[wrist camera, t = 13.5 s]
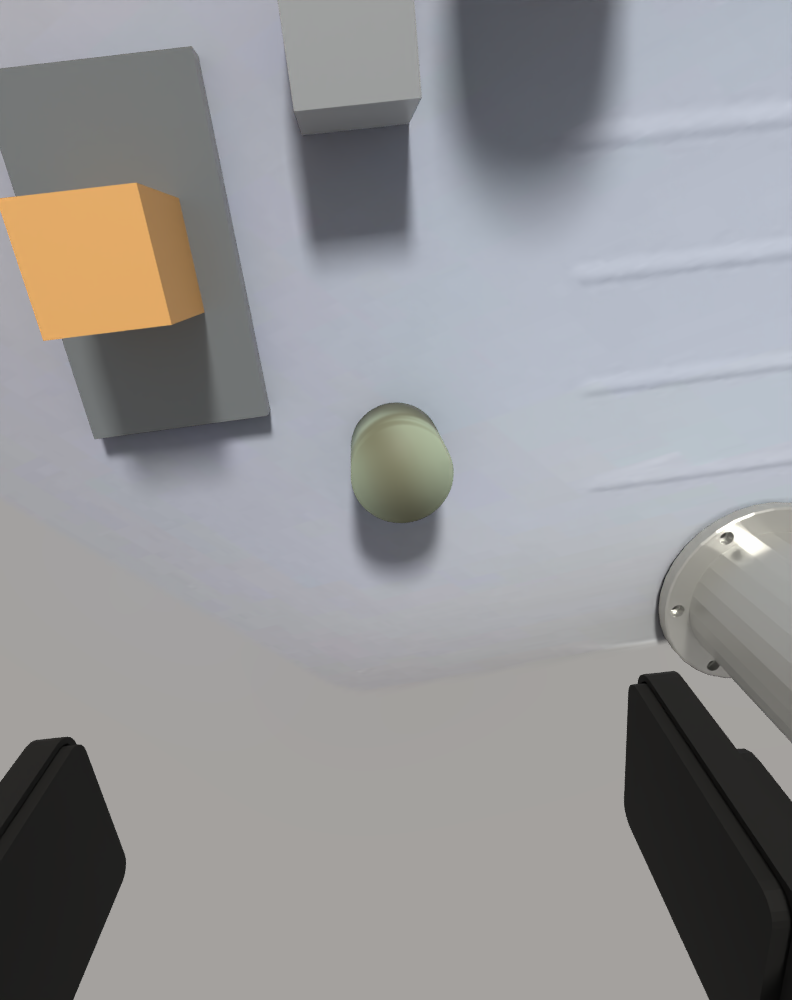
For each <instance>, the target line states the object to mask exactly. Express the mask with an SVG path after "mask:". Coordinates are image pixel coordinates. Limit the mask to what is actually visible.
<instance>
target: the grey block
mask: <svg viewBox="0 0 792 1000" xmlns="http://www.w3.org/2000/svg"><path fill="white" fill-rule="evenodd" d="M278 7H279V13H280V20H281V27H282V34H283V40H284V47H285V54H286V61H287V68H288V74H289V81H290V88H291V95H292V102H293V108H294V113H295V116H296V119H297V122H298V125H299V128H300V131H301V134H302V135H311V134H320V133H330V132H339V131H348V130H357V129H366V128H376V127H385V126H394V125H403V124H409V123H410V120H411V118H412V116H413V114H414V112H415V110H416V108H417V106H418V104H419V102H420V100H421V98H422V97H421V84H420V71H419V58H418V45H417V32H416V19H415V6H414V0H278Z"/></svg>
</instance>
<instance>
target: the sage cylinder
mask: <svg viewBox="0 0 792 1000" xmlns="http://www.w3.org/2000/svg"><path fill="white" fill-rule="evenodd" d="M452 482H453V464H452V460H451V457H450V455H449V453H448V451H447V449H446V447H445V445H444V443H443V441H442V439H441V437H440V435H439V433H438V431H437V429H436V427H435V425H434V423H433V422H432V420H431V419H430V418H429V417H428V415H426V414H425V413H424V412H423V411H421V410H420V409H418V408H416V407H414V406H412V405H409V404H404V403H388V404H384V405H381V406H378V407H376V408H374V409H372V410H371V411H369V412H368V413H367V414H366V415H364V416H363V418H362V419H361V420H360V421H359V423H358V424H357V426H356V428H355V430H354V433H353V435H352V441H351V483H352V487H353V491H354V493H355V496H356V497H357V499H358V501H359V502H360V504H361V505H362V506H363V507H364V508H365V509H366V510H367V511H368V512H369V513H371V514H372V515H374V516H375V517H377V518H380V519H382V520H385V521H388V522H394V523H408V522H413V521H417V520H420V519H422V518H424V517H426V516H428V515H430V514H431V513H433V512H434V511H435V510H437V509H438V508H439V507H440V506H441V504H442V503H443V502H444V501H445V499H446V497H447V496H448V494H449V492H450V489H451V486H452Z"/></svg>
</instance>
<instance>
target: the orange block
mask: <svg viewBox="0 0 792 1000" xmlns="http://www.w3.org/2000/svg"><path fill="white" fill-rule="evenodd" d="M0 211H1V214H2V217H3V220H4V223H5V226H6V229H7V232H8V235H9V238H10V241H11V244H12V247H13V250H14V253H15V256H16V259H17V262H18V265H19V268H20V271H21V274H22V277H23V280H24V283H25V286H26V289H27V292H28V296H29V299H30V302H31V305H32V308H33V311H34V314H35V317H36V320H37V323H38V326H39V329H40V332H41V335H42V338H43V341H46V340H54V339H62V338H70V337H78V336H86V335H94V334H102V333H110V332H118V331H126V330H134V329H142V328H150V327H158V326H166V325H173V324H175V323H178V322H180V321H183V320H186V319H188V318H191V317H194V316H196V315H199V314H202V313H204V307H203V303H202V298H201V294H200V290H199V285H198V281H197V276H196V272H195V267H194V263H193V258H192V254H191V250H190V245H189V241H188V236H187V232H186V227H185V223H184V219H183V214H182V210H181V205H180V201H179V198H177V197H174V196H172V195H169V194H166V193H163V192H161V191H158V190H155V189H153V188H150V187H147V186H144V185H142V184H139V183H128V184H120V185H111V186H102V187H94V188H85V189H77V190H68V191H60V192H51V193H42V194H34V195H25V196H17V197H8V198H0Z"/></svg>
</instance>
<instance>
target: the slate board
mask: <svg viewBox="0 0 792 1000" xmlns="http://www.w3.org/2000/svg"><path fill="white" fill-rule="evenodd" d="M0 150H1V153H2V156H3V159H4V162H5V165H6V168H7V171H8V174H9V177H10V180H11V183H12V187H13V190H14V193H15V196H16V197H17V196H25V195H34V194H42V193H51V192H60V191H68V190H77V189H85V188H94V187H102V186H111V185H120V184H128V183H139V184H142V185H144V186H147V187H150V188H153V189H155V190H158V191H161V192H163V193H166V194H169V195H172V196H174V197H177V198H179V201H180V205H181V210H182V214H183V219H184V223H185V227H186V232H187V236H188V241H189V245H190V250H191V254H192V258H193V263H194V267H195V272H196V276H197V281H198V285H199V290H200V294H201V298H202V303H203V307H204V313H202V314H199V315H196V316H194V317H191V318H188V319H186V320H183V321H180V322H178V323H175V324H173V325H166V326H158V327H150V328H142V329H134V330H126V331H118V332H110V333H102V334H94V335H86V336H78V337H70V338H62V341H63V344H64V347H65V350H66V353H67V356H68V359H69V362H70V365H71V368H72V371H73V375H74V378H75V381H76V384H77V387H78V390H79V393H80V396H81V399H82V402H83V405H84V408H85V412H86V415H87V418H88V421H89V424H90V427H91V430H92V433H93V436H94V439H100V438H107V437H115V436H122V435H129V434H137V433H144V432H152V431H159V430H166V429H174V428H181V427H188V426H196V425H203V424H211V423H218V422H225V421H233V420H240V419H247V418H255V417H262V416H268V414H269V412H270V407H269V402H268V397H267V392H266V387H265V383H264V378H263V373H262V368H261V363H260V358H259V353H258V348H257V343H256V338H255V333H254V328H253V324H252V319H251V314H250V309H249V304H248V299H247V294H246V289H245V284H244V279H243V274H242V269H241V264H240V260H239V255H238V250H237V245H236V240H235V235H234V230H233V225H232V220H231V215H230V210H229V205H228V200H227V196H226V191H225V186H224V181H223V176H222V171H221V166H220V161H219V156H218V151H217V146H216V141H215V137H214V132H213V127H212V122H211V117H210V112H209V107H208V102H207V97H206V92H205V87H204V82H203V77H202V73H201V68H200V63H199V58H198V55H197V53H196V52H195V50H194V49H193V48H192V46H190V47H181V48H172V49H164V50H155V51H147V52H138V53H130V54H121V55H112V56H104V57H95V58H87V59H78V60H70V61H61V62H52V63H44V64H35V65H27V66H18V67H10V68H1V69H0Z"/></svg>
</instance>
